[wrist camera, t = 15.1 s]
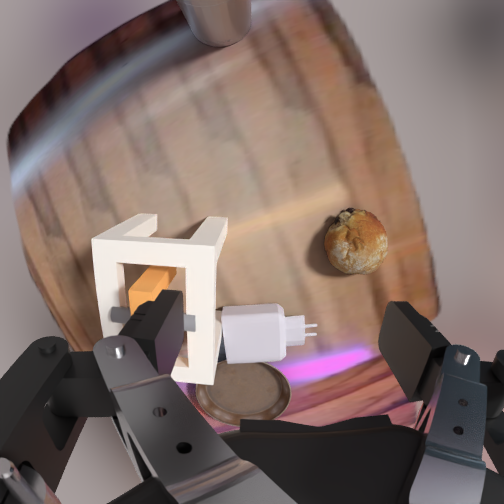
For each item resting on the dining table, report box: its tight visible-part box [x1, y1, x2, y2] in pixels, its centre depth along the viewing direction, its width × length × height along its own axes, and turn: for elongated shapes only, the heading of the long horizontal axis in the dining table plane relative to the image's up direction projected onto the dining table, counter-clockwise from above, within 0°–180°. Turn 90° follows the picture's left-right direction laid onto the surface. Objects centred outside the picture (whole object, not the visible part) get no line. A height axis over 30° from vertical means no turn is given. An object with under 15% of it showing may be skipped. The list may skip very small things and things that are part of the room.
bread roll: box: [324, 208, 388, 275], centre depth 46 cm, size 10×10×8 cm
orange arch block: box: [128, 265, 176, 316], centre depth 36 cm, size 10×2×10 cm, turn 177°
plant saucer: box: [196, 359, 291, 427], centre depth 55 cm, size 18×18×3 cm
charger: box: [221, 303, 317, 364], centre depth 50 cm, size 5×9×15 cm
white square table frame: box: [91, 214, 228, 385], centre depth 41 cm, size 18×14×17 cm
